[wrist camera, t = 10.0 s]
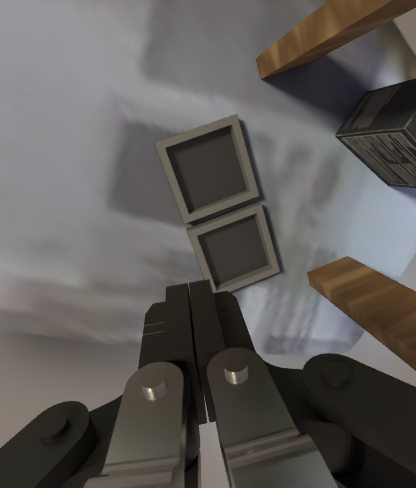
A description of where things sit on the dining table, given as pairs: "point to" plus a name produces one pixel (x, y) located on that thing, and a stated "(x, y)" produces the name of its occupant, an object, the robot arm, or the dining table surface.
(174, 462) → the robot arm
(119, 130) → the dining table surface
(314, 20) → the tunnel
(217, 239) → the tray
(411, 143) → the small box
